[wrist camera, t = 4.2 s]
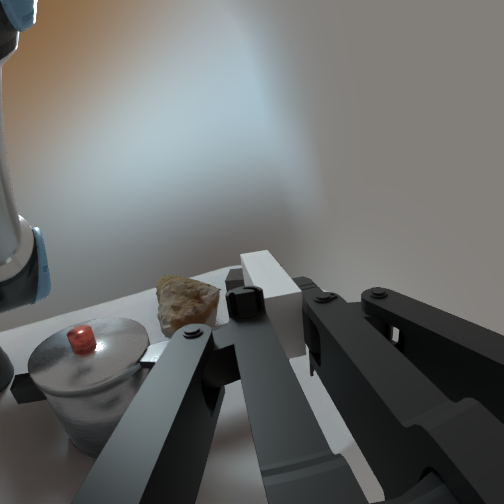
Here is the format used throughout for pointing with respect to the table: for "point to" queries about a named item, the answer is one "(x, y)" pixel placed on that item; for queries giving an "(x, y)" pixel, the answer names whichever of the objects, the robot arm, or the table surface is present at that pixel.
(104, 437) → the pot
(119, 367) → the lid
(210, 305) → the mineral
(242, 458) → the table surface
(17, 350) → the table surface
